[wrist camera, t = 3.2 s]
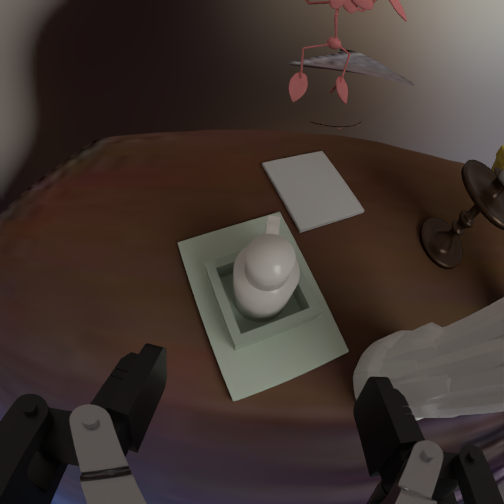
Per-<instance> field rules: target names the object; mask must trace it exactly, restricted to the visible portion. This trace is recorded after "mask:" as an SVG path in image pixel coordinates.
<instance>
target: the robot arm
mask: <svg viewBox="0 0 504 504" xmlns="http://www.w3.org/2000/svg"><path fill="white" fill-rule="evenodd" d="M166 378H167V373H166V349H165V348H164V347H160V346H156V345H152V344H148V343H147V344H145V345H144V347H143V348H142V350H141V352H140V353H139V354H136V353H132V352H131V353H129V354H128V355H126V356H125V357H123V358H121V360H120V361H119V363H118V364H117V365H116V367H115V369H114V370H113V371H112V373H111V374H110V376H109V377H108V379H107V380H106V382H105V383H104V384H103V386H102V387H101V389H100V390H99V392H98V393H97V395H96V396H95V398H94V399H93V401H92V402H91V404H88V405H82V406H79V407H77V408H76V409H75V410H74V411H65V410H59V409H54V408H49V407H48V405H47V403H46V401H45V400H44V399H43V398H42V397H40V396H38V395H35V394H25V395H22V396H20V397H19V398H18V399H17V400H16V401H15V402H14V403H13V405H12V406H11V407H10V409H9V410H8V411H7V413H6V414H5V416H4V417H3V418H2V420H1V421H0V504H51V501H52V499H53V497H54V494H55V492H56V490H57V487H58V485H59V483H60V481H61V478H62V476H63V474H64V472H65V470H66V467H67V465H68V464H71V465H76V466H80V469H81V474H82V476H80V481H81V485H82V489H83V492H84V495H85V498H86V501H87V503H88V504H146V502H145V500H144V498H143V496H142V494H141V492H140V490H139V488H138V486H137V484H136V481H135V479H134V477H133V475H132V473H131V470H130V468H129V466H128V464H127V461H126V459H125V457H126V455H127V452H128V450H130V451H133V452H136V453H138V450H139V448H140V445H141V443H142V441H143V438H144V436H145V433H146V431H147V429H148V426H149V424H150V422H151V419H152V417H153V415H154V412H155V410H156V408H157V405H158V403H159V401H160V398H161V396H162V394H163V391H164V389H165V385H166ZM354 418H355V421H356V425H357V429H358V432H359V436H360V440H361V444H362V447H363V451H364V455H365V459H366V463H367V467H368V471H369V475H370V477H374V476H381V479H382V480H381V481H380V482H379V483H378V485H377V487H376V488H375V490H374V492H373V494H372V495H371V497H370V499H369V500H368V502H367V504H457V501H456V498H455V495H454V491H455V490H457V489H458V488H460V491H461V494H462V497H463V500H464V503H465V504H504V502H503V499H502V497H501V494H500V492H499V489H498V486H497V484H496V481H495V479H494V477H493V474H492V472H491V470H490V467H489V465H488V463H487V461H486V458H485V456H484V454H483V452H482V451H481V450H480V449H479V448H478V447H477V446H474V445H465V446H464V447H462V448H461V450H460V451H459V452H458V453H447V452H442V450H441V448H440V447H439V446H438V445H437V444H435V443H434V442H431V441H427V440H425V439H424V437H423V434H422V432H421V430H420V428H419V426H418V423H417V421H416V419H415V417H414V415H412V411H411V409H410V407H409V404H408V402H407V400H406V398H405V396H404V395H403V394H402V393H401V392H400V391H399V390H398V389H394V387H393V385H392V383H391V381H390V379H389V378H388V377H369V378H368V380H367V381H366V383H365V385H364V387H363V389H362V391H361V393H360V395H359V397H358V398H357V400H356V402H355V405H354Z"/></svg>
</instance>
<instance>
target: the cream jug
mask: <svg viewBox="0 0 504 504" xmlns="http://www.w3.org/2000/svg"><path fill="white" fill-rule="evenodd" d="M280 218H281V217H276V216H270V215H268V220H267V225H266V230H265V234H263V235H260V236H258V237H256V238H254V239H253V240H252V241H251V242H250V244H249V245H248V246H247V247H245V248H244V249H243V250H242V251H241V252H240V253H239V254H238V256H237V258H236V260H235V263H234V269H233V299H234V304H235V307H236V309H237V310H238V312H239V313H240V314H241V315H242V316H243V317H245V318H246V319H248V320H250V321H254V322H267V321H270V320H272V319H274V318H276V317H277V316H278V315H279V314H280V313H281V312H282V310H283V309H284V307H285V305H286V303H287V302H288V300H289V298H290V297H291V295H292V293H293V291H294V290H295V288H296V286H297V284H298V281H299V277H300V269H299V264H298V262H297V260H296V255H295V251H294V248H293V246H292V245H291V244H290V242H289V241H288V240H286V239H285V238H283V237H282V236H279V226H280Z"/></svg>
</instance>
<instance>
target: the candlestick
mask: <svg viewBox="0 0 504 504" xmlns="http://www.w3.org/2000/svg"><path fill="white" fill-rule="evenodd" d="M494 172H495V173H494ZM494 172H493V171H492V170H491V169H490V168H488V167H487V166H486V165H484V164H483V163H481V162H479V161H476V160H469V161H467V162H466V164H465V165H464V166H463V168H462V171H461V174H462V180H463V183H464V186H465V188H466V190H467V192H468V194H469V196H470V198H471V199H472V201H473V202H474V204H475V205H474V206H473V207H472V208H471V209H470V210H469V211H468V212H467V211H465V210H464V211H461V212H460V215H459V220H458V221H456V220H455V221H453V222H452V227H451V226H450V225H449V224H448V223H447V222H445V221H444V220H442V219H439V218H429V219H428V220H426V221H425V222H424V223H423V225H422V226H421V229H420V240H421V244H422V247H423V249H424V251H425V253H426V254H427V256H428V257H429V258H430V259H431V261H432V262H434V263H435V264H436V265H437V266H439V267H441V268H444V269H452V268H453V267H455V266H456V265H458V264H459V263H460V261H461V259H462V252H463V251H462V245H461V241H460V239H459V237H458V235H462V234H463V233H464V228H471V227H472V226H473V224H474V220H473V219H474V218H475V217H476V216H477V215H478V214H479V213H480V212H481V213H482V214H483V215H484V216H485V217H486V218H487V219H488V220H489V221H490V222H491V223H492V224H493V225H495V226H496V227H498V228H499V229H502V230H504V169H503V170H501V169H499V168H498V167H495V168H494ZM457 234H458V235H457Z"/></svg>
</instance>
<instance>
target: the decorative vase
mask: <svg viewBox="0 0 504 504" xmlns="http://www.w3.org/2000/svg"><path fill="white" fill-rule="evenodd" d="M369 377H388V378H389V379H390V381H391V383H392V385H393V387H394V389H398V390H399V391H400V392H401V393H402V394H403V395H404V396H405V398H406V400H407V402H408V404H409V407H410V409H411V411H412V415H414V417H415V419H416V420H419V419H422V418H452V417H456V416H458V415H469V414H482V413H493V412H501V411H504V297H503V298H501V299H499V300H498V301H496V302H494V303H492V304H490V305H489V306H487V307H485V308H483V309H481V310H479V311H477V312H475V313H473V314H471V315H469V316H467V317H465V318H463V319H461V320H459V321H457V322H455V323H453V324H450V325H448V326H446V327H440V326H439V325H436V324H434V323H432V322H430V323H428V324H426V325H424V326H422V327H419V328H417V329H415V330H413V331H405V330H401V331H398V332H395V333H393V334H390V335H388V336H386V337H384V338H382V339H379V340H377V341H375V342H373V343H372V344H371V345H370V346H369V347H368V348H367V349H366V350H365V351H364V352H363V354H362V355H361V357H360V359H359V361H358V364H357V366H356V368H355V370H354V375H353V387H354V394H355V398H356V400H357V398H358V397H359V395H360V393H361V391H362V389H363V387H364V385H365V383H366V381H367V380H368V378H369Z"/></svg>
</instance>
